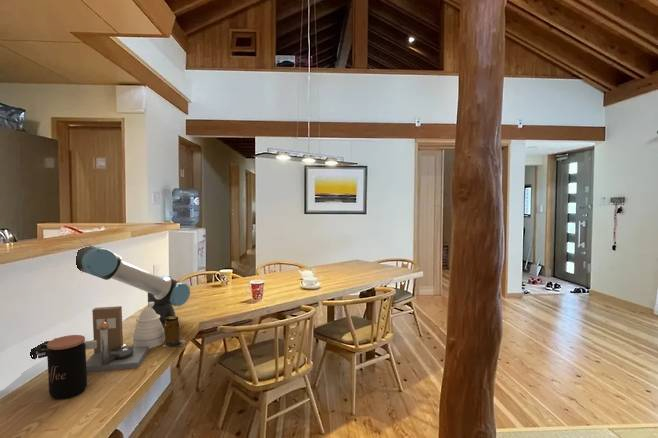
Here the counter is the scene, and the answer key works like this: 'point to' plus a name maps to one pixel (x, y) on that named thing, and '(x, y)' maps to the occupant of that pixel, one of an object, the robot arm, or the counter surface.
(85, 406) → the counter surface
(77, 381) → the coffee jar
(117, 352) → the ball top joystick
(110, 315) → the stand
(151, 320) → the honey pot
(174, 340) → the condiment
